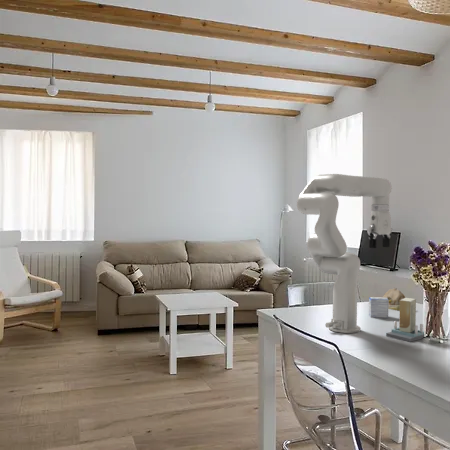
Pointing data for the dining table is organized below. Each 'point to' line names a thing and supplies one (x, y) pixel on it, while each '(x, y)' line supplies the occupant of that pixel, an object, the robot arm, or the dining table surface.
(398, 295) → the ceramic model
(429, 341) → the dining table surface
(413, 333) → the pin tray
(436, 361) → the dining table surface
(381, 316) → the medicine box
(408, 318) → the skincare box
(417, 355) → the dining table surface
